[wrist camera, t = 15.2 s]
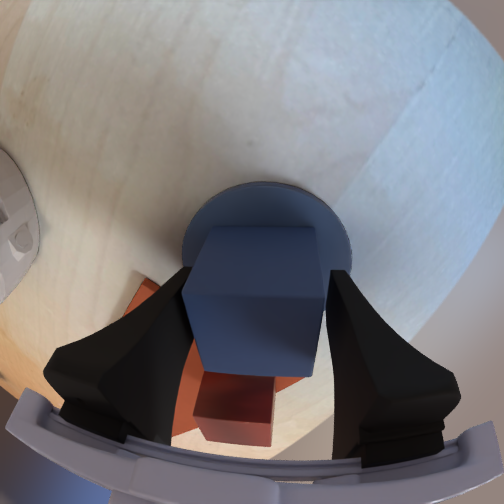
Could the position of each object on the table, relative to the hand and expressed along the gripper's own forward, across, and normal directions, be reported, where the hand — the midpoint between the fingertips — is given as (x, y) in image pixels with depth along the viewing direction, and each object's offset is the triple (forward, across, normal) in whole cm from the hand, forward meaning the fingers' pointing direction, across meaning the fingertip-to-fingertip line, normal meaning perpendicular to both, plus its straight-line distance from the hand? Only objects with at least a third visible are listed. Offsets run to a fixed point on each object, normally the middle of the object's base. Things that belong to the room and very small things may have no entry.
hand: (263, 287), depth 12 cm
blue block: (+1, 0, 0) cm, 1 cm away
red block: (+1, +2, +9) cm, 9 cm away
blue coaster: (+2, 0, 0) cm, 2 cm away
